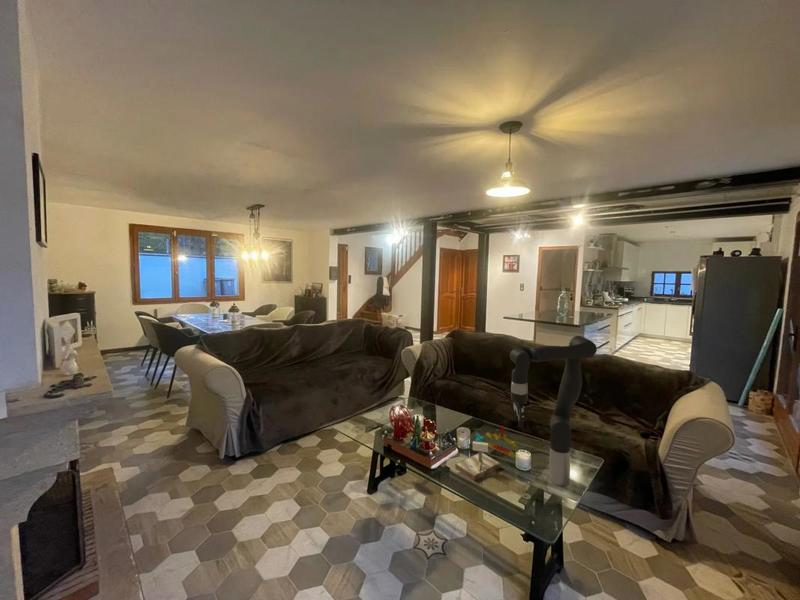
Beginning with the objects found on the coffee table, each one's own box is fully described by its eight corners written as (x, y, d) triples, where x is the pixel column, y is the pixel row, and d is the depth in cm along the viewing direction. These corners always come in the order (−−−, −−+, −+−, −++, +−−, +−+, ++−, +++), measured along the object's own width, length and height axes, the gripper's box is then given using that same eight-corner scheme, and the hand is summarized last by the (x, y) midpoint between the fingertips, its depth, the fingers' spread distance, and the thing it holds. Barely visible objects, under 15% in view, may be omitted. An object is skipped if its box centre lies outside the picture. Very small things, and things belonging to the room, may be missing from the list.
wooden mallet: (473, 458, 194) (473, 441, 193) (487, 461, 192) (487, 443, 190) (471, 469, 184) (471, 450, 183) (486, 472, 182) (486, 453, 181)
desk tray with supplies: (480, 455, 202) (480, 451, 202) (501, 467, 190) (501, 463, 190) (455, 468, 191) (455, 463, 191) (474, 481, 179) (474, 476, 179)
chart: (474, 441, 218) (474, 419, 216) (477, 440, 220) (477, 417, 218) (520, 461, 196) (520, 436, 194) (522, 459, 198) (523, 434, 196)
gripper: (508, 385, 174) (507, 416, 176) (514, 396, 160) (514, 430, 162) (523, 385, 173) (523, 416, 175) (531, 396, 159) (530, 430, 161)
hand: (518, 423), depth 169 cm, fingers open, 8 cm apart
